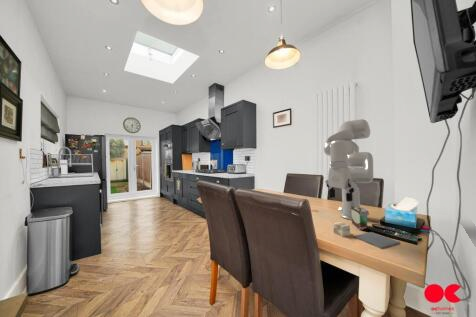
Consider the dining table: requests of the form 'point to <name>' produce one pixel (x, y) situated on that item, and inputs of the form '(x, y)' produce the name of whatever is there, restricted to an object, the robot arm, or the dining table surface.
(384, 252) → the dining table surface
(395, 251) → the dining table surface
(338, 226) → the birch cube
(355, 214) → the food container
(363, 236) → the charcoal mat
